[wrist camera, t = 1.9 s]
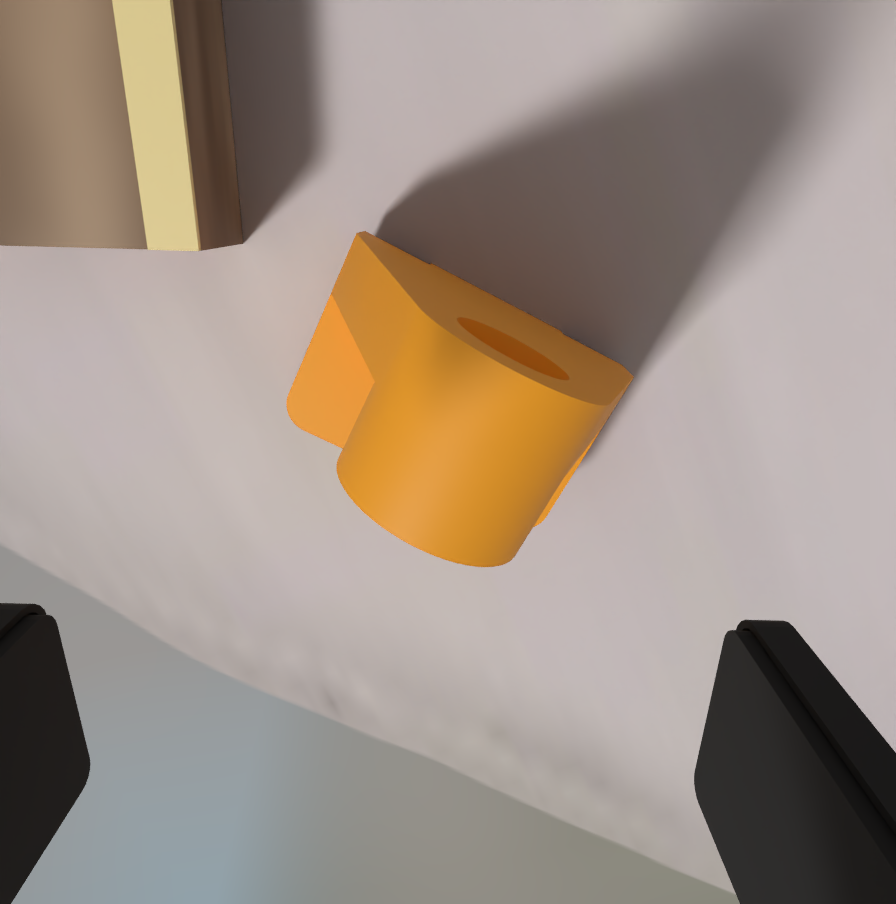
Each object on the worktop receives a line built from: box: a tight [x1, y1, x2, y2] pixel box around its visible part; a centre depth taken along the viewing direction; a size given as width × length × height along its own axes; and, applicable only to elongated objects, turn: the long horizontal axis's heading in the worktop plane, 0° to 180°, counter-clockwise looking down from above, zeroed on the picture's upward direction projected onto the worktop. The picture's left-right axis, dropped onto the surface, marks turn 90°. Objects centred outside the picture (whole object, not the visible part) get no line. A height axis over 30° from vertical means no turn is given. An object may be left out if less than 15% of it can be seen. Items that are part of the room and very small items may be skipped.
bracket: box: [287, 231, 634, 567], centre depth 20 cm, size 11×7×12 cm, turn 63°
